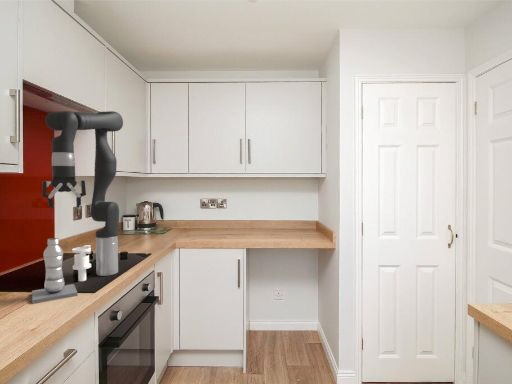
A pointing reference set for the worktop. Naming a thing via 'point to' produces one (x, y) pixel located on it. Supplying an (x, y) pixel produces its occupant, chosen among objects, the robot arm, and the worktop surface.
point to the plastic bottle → (53, 266)
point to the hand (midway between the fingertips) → (65, 207)
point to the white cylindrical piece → (82, 261)
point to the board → (53, 294)
